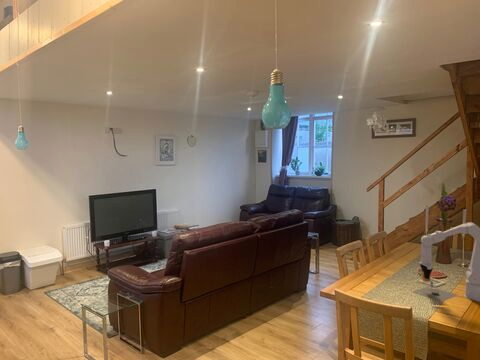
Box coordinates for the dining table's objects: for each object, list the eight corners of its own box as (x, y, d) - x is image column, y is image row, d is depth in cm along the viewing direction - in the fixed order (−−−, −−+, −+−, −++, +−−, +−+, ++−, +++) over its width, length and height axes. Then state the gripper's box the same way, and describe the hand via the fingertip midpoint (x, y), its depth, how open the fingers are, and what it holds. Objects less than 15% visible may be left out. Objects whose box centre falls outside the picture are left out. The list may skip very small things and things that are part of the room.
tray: (445, 285, 234) (445, 282, 234) (435, 288, 228) (435, 285, 228) (428, 280, 243) (428, 277, 243) (419, 283, 237) (419, 280, 237)
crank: (439, 294, 215) (439, 287, 215) (432, 294, 216) (432, 286, 216) (434, 288, 226) (434, 281, 225) (427, 287, 226) (427, 280, 226)
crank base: (458, 296, 215) (458, 294, 215) (441, 303, 206) (441, 301, 205) (428, 287, 230) (428, 285, 230) (411, 293, 221) (411, 291, 221)
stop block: (428, 279, 223) (428, 271, 223) (430, 281, 220) (430, 273, 219) (421, 278, 224) (421, 270, 224) (423, 280, 221) (423, 272, 220)
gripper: (416, 252, 229) (415, 273, 230) (422, 258, 215) (421, 281, 216) (428, 252, 227) (428, 273, 228) (435, 259, 213) (434, 281, 214)
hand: (425, 277), depth 222 cm, fingers closed on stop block, 4 cm apart
